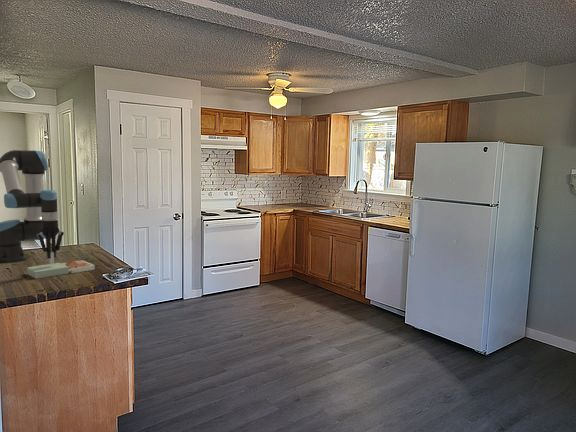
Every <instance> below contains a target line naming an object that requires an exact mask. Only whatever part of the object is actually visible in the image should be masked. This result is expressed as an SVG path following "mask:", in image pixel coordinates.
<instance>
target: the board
mask: <svg viewBox="0 0 576 432" xmlns="http://www.w3.org/2000/svg"><path fill="white" fill-rule="evenodd" d="M26 274H27V275H28V276H30V277H32V278H34V279H35V280H38V279H44V278H49V277H56V276H62V275H67V274H70V273H69V267H68V266H66V265H64V264H61V262H56V263H55V262H54V264H53V265H51V264H49V263H47V264H41V265H34V266H29V267H28V266H27V267H26Z"/></svg>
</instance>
